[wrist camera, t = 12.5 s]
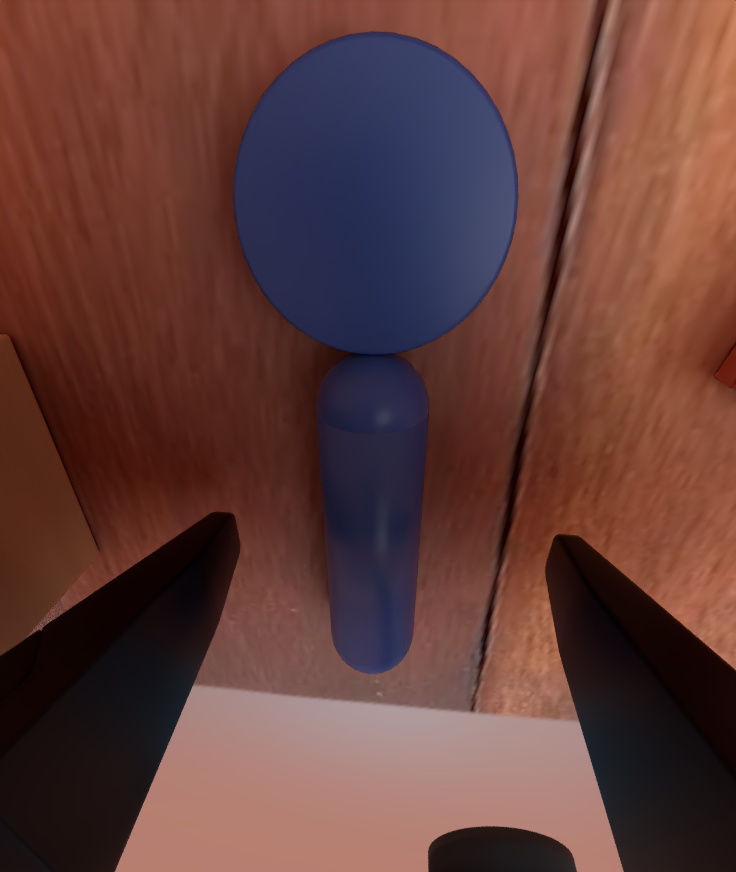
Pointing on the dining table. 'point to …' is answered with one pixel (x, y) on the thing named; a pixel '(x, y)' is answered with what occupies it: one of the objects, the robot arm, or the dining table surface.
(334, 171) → the blue spoon
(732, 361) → the red tray
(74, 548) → the stand
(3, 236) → the dining table surface
